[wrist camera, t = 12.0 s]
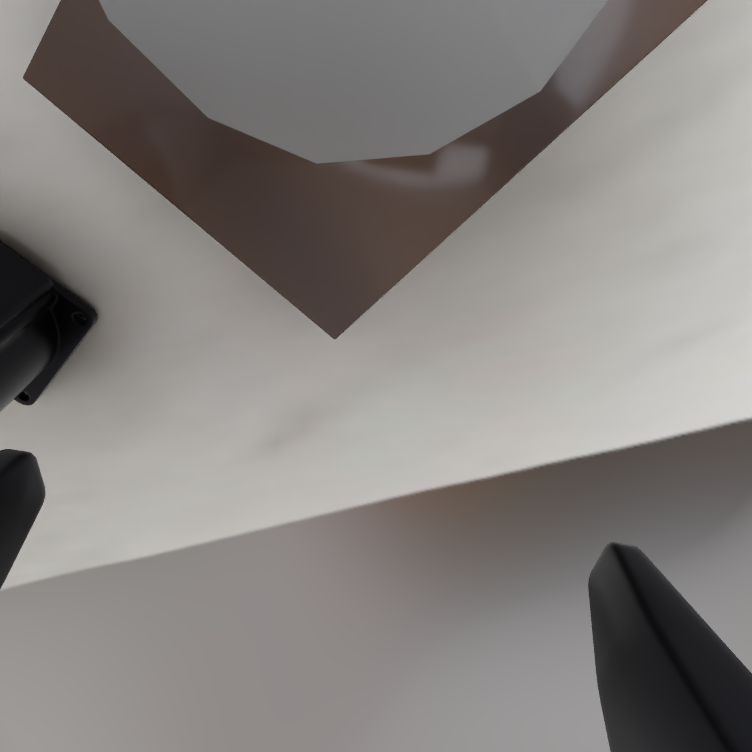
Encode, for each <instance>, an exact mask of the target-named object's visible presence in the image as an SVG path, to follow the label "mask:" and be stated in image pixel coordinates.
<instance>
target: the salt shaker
mask: <svg viewBox="0 0 752 752" xmlns="http://www.w3.org/2000/svg"><path fill="white" fill-rule="evenodd" d="M99 1H100V4H101V6H102V8H103V10H104V12H105V14H106V16H107V18H108V20H109V21H110V22H111V23H112V24H113V25H114V26H115V27H116V28H117V29H118V30H119V31H120V32H121V33H122V34H123V35H124V36H125V37H126V38H127V39H128V40H129V41H130V42H131V43H132V44H133V45H134V46H135V47H136V48H138V49H139V50H140V51H141V52H142V53H143V54H144V55H145V56H146V57H147V58H148V59H149V60H150V61H151V62H152V63H153V64H154V65H155V66H156V67H157V68H158V69H159V70H160V71H161V72H162V73H163V74H164V75H165V76H166V77H167V78H168V79H169V80H170V81H171V82H172V83H173V84H174V85H175V86H176V87H177V88H178V89H179V90H180V91H181V92H182V93H183V94H184V95H185V96H186V97H187V98H188V99H189V100H190V101H191V102H192V103H193V104H195V105H196V106H197V107H198V108H199V109H200V110H201V111H202V112H203V113H204V114H205V115H206V116H207V117H208V118H210V119H212V120H215V121H217V122H219V123H222V124H224V125H226V126H229V127H231V128H233V129H236V130H238V131H241V132H243V133H245V134H248V135H250V136H252V137H255V138H257V139H260V140H262V141H264V142H267V143H269V144H271V145H274V146H276V147H278V148H281V149H283V150H286V151H288V152H290V153H293V154H295V155H297V156H300V157H302V158H304V159H307V160H309V161H312V162H314V163H316V164H319V163H331V162H343V161H355V160H367V159H379V158H391V157H402V156H414V155H426V154H431V153H432V152H434V151H436V150H438V149H439V148H441V147H443V146H445V145H447V144H448V143H450V142H452V141H454V140H455V139H457V138H459V137H461V136H462V135H464V134H466V133H468V132H469V131H471V130H473V129H475V128H477V127H478V126H480V125H482V124H484V123H485V122H487V121H489V120H491V119H492V118H494V117H496V116H498V115H499V114H501V113H503V112H505V111H507V110H508V109H510V108H512V107H514V106H515V105H517V104H519V103H521V102H522V101H524V100H526V99H528V98H529V97H531V96H533V95H535V94H536V93H538V92H540V91H541V90H542V88H543V87H544V86H545V84H546V83H547V82H548V80H549V79H550V78H551V76H552V75H553V74H554V72H555V71H556V70H557V68H558V67H559V66H560V64H561V63H562V61H563V60H564V59H565V57H566V56H567V55H568V53H569V52H570V51H571V49H572V48H573V47H574V45H575V44H576V43H577V41H578V40H579V39H580V37H581V36H582V35H583V33H584V32H585V31H586V29H587V28H588V27H589V25H590V24H591V23H592V21H593V20H594V18H595V17H596V16H597V14H598V13H599V12H600V10H601V9H602V8H603V6H604V5H605V4H606V2H607V1H608V0H99Z"/></svg>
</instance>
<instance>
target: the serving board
mask: <svg viewBox="0 0 752 752" xmlns="http://www.w3.org/2000/svg"><path fill="white" fill-rule="evenodd" d="M706 1H707V0H608V1H607V2H606V4H605V5H604V6H603V8H602V9H601V10H600V12H599V13H598V14H597V16H596V17H595V18H594V20H593V21H592V23H591V24H590V25H589V27H588V28H587V29H586V31H585V32H584V33H583V35H582V36H581V37H580V39H579V40H578V41H577V43H576V44H575V45H574V47H573V48H572V49H571V51H570V52H569V53H568V55H567V56H566V57H565V59H564V60H563V61H562V63H561V64H560V66H559V67H558V68H557V70H556V71H555V72H554V74H553V75H552V76H551V78H550V79H549V80H548V82H547V83H546V84H545V86H544V87H543V88H542V90H541V91H540V92H538V93H536V94H535V95H533V96H531V97H529V98H528V99H526V100H524V101H522V102H521V103H519V104H517V105H515V106H514V107H512V108H510V109H508V110H507V111H505V112H503V113H501V114H499V115H498V116H496V117H494V118H492V119H491V120H489V121H487V122H485V123H484V124H482V125H480V126H478V127H477V128H475V129H473V130H471V131H469V132H468V133H466V134H464V135H462V136H461V137H459V138H457V139H455V140H454V141H452V142H450V143H448V144H447V145H445V146H443V147H441V148H439V149H438V150H436V151H434V152H432V153H431V154H426V155H414V156H402V157H391V158H379V159H367V160H355V161H343V162H331V163H319V164H316V163H314V162H312V161H309V160H307V159H304V158H302V157H300V156H297V155H295V154H293V153H290V152H288V151H286V150H283V149H281V148H278V147H276V146H274V145H271V144H269V143H267V142H264V141H262V140H260V139H257V138H255V137H252V136H250V135H248V134H245V133H243V132H241V131H238V130H236V129H233V128H231V127H229V126H226V125H224V124H222V123H219V122H217V121H215V120H212V119H210V118H208V117H207V116H206V115H205V114H204V113H203V112H202V111H201V110H200V109H199V108H198V107H197V106H196V105H195V104H193V103H192V102H191V101H190V100H189V99H188V98H187V97H186V96H185V95H184V94H183V93H182V92H181V91H180V90H179V89H178V88H177V87H176V86H175V85H174V84H173V83H172V82H171V81H170V80H169V79H168V78H167V77H166V76H165V75H164V74H163V73H162V72H161V71H160V70H159V69H158V68H157V67H156V66H155V65H154V64H153V63H152V62H151V61H150V60H149V59H148V58H147V57H146V56H145V55H144V54H143V53H142V52H141V51H140V50H139V49H138V48H136V47H135V46H134V45H133V44H132V43H131V42H130V41H129V40H128V39H127V38H126V37H125V36H124V35H123V34H122V33H121V32H120V31H119V30H118V29H117V28H116V27H115V26H114V25H113V24H112V23H111V22H110V21H109V20H108V18H107V16H106V14H105V12H104V10H103V8H102V6H101V4H100V1H99V0H61V1H60V3H59V5H58V7H57V9H56V11H55V13H54V15H53V17H52V19H51V21H50V23H49V25H48V27H47V30H46V32H45V34H44V36H43V38H42V40H41V42H40V44H39V46H38V48H37V50H36V52H35V54H34V56H33V58H32V60H31V62H30V64H29V66H28V68H27V70H26V72H25V74H24V76H23V79H24V80H26V81H27V82H28V83H29V84H30V85H32V86H33V87H34V88H35V89H36V90H37V91H39V92H40V93H41V94H42V95H43V96H45V97H46V98H47V99H48V100H49V101H51V102H52V103H53V104H54V105H55V106H57V107H58V108H59V109H60V110H61V111H63V112H64V113H65V114H66V115H67V116H69V117H70V118H71V119H72V120H73V121H74V122H76V123H77V124H78V125H79V126H80V127H82V128H83V129H84V130H85V131H86V132H88V133H89V134H90V135H91V136H92V137H94V138H95V139H96V140H97V141H98V142H100V143H101V144H102V145H103V146H104V147H105V148H107V149H108V150H109V151H110V152H111V153H113V154H114V155H115V156H116V157H117V158H119V159H120V160H121V161H122V162H123V163H125V164H126V165H127V166H128V167H129V168H131V169H132V170H133V171H134V172H135V173H137V174H138V175H139V176H140V177H141V178H142V179H144V180H145V181H146V182H147V183H148V184H150V185H151V186H152V187H153V188H154V189H156V190H157V191H158V192H159V193H160V194H162V195H163V196H164V197H165V198H166V199H168V200H169V201H170V202H171V203H172V204H174V205H175V206H176V207H177V208H178V209H179V210H181V211H182V212H183V213H184V214H185V215H187V216H188V217H189V218H190V219H191V220H193V221H194V222H195V223H196V224H197V225H199V226H200V227H201V228H202V229H203V230H205V231H206V232H207V233H208V234H209V235H211V236H212V237H213V238H214V239H215V240H216V241H218V242H219V243H220V244H221V245H222V246H224V247H225V248H226V249H227V250H228V251H230V252H231V253H232V254H233V255H234V256H236V257H237V258H238V259H239V260H240V261H242V262H243V263H244V264H245V265H246V266H248V267H249V268H250V269H251V270H252V271H253V272H255V273H256V274H257V275H258V276H259V277H261V278H262V279H263V280H264V281H265V282H267V283H268V284H269V285H270V286H271V287H273V288H274V289H275V290H276V291H277V292H279V293H280V294H281V295H282V296H283V297H284V298H286V299H287V300H288V301H289V302H290V303H292V304H293V305H294V306H295V307H296V308H298V309H299V310H300V311H301V312H302V313H304V314H305V315H306V316H307V317H308V318H310V319H311V320H312V321H313V322H314V323H316V324H317V325H318V326H319V327H320V328H321V329H323V330H324V331H325V332H326V333H327V334H329V335H330V336H331V337H332V338H333V339H336V338H337V337H338V336H339V335H341V334H342V333H343V332H344V331H345V330H346V329H347V328H348V327H349V326H350V325H352V324H353V323H354V322H355V321H356V320H357V319H358V318H359V317H360V316H361V315H363V314H364V313H365V312H366V311H367V310H368V309H369V308H370V307H371V306H372V305H374V304H375V303H376V302H377V301H378V300H379V299H380V298H381V297H382V296H383V295H384V294H386V293H387V292H388V291H389V290H390V289H391V288H392V287H393V286H394V285H395V284H397V283H398V282H399V281H400V280H401V279H402V278H403V277H404V276H405V275H406V274H408V273H409V272H410V271H411V270H412V269H413V268H414V267H415V266H416V265H417V264H419V263H420V262H421V261H422V260H423V259H424V258H425V257H426V256H427V255H428V254H429V253H431V252H432V251H433V250H434V249H435V248H436V247H437V246H438V245H439V244H440V243H442V242H443V241H444V240H445V239H446V238H447V237H448V236H449V235H450V234H451V233H453V232H454V231H455V230H456V229H457V228H458V227H459V226H460V225H461V224H462V223H464V222H465V221H466V220H467V219H468V218H469V217H470V216H471V215H472V214H473V213H474V212H476V211H477V210H478V209H479V208H480V207H481V206H482V205H483V204H484V203H485V202H487V201H488V200H489V199H490V198H491V197H492V196H493V195H494V194H495V193H496V192H498V191H499V190H500V189H501V188H502V187H503V186H504V185H505V184H506V183H507V182H509V181H510V180H511V179H512V178H513V177H514V176H515V175H516V174H517V173H518V172H520V171H521V170H522V169H523V168H524V167H525V166H526V165H527V164H528V163H529V162H530V161H532V160H533V159H534V158H535V157H536V156H537V155H538V154H539V153H540V152H541V151H543V150H544V149H545V148H546V147H547V146H548V145H549V144H550V143H551V142H552V141H554V140H555V139H556V138H557V137H558V136H559V135H560V134H561V133H562V132H563V131H565V130H566V129H567V128H568V127H569V126H570V125H571V124H572V123H573V122H574V121H575V120H577V119H578V118H579V117H580V116H581V115H582V114H583V113H584V112H585V111H586V110H588V109H589V108H590V107H591V106H592V105H593V104H594V103H595V102H596V101H597V100H599V99H600V98H601V97H602V96H603V95H604V94H605V93H606V92H607V91H608V90H610V89H611V88H612V87H613V86H614V85H615V84H616V83H617V82H618V81H619V80H620V79H622V78H623V77H624V76H625V75H626V74H627V73H628V72H629V71H630V70H631V69H633V68H634V67H635V66H636V65H637V64H638V63H639V62H640V61H641V60H642V59H644V58H645V57H646V56H647V55H648V54H649V53H650V52H651V51H652V50H653V49H655V48H656V47H657V46H658V45H659V44H660V43H661V42H662V41H663V40H664V39H666V38H667V37H668V36H669V35H670V34H671V33H672V32H673V31H674V30H675V29H676V28H678V27H679V26H680V25H681V24H682V23H683V22H684V21H685V20H686V19H687V18H689V17H690V16H691V15H692V14H693V13H694V12H695V11H696V10H697V9H698V8H700V7H701V6H702V5H703V4H704V3H705V2H706Z"/></svg>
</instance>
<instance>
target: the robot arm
mask: <svg viewBox="0 0 752 752" xmlns="http://www.w3.org/2000/svg"><path fill="white" fill-rule="evenodd" d="M79 313H80V314H82V315H83V316H84V317H85V318H86V320H85V319H83V318H81V317H80V316H79ZM96 321H97V314H96V312H95V310H94V309H93V308H92V307H91V306H89V305H88V304H87V303H85V302H84V301H83V300H81V299H80V298H78V297H77V296H76V295H74V294H73V293H71V292H70V291H69V290H67V289H66V288H65V287H63V286H62V285H60V284H59V283H58V282H56V281H55V280H53V279H52V278H51V277H49V276H48V275H47V274H45V273H44V272H42V271H41V270H40V269H38V268H37V267H36V266H34V265H33V264H31V263H30V262H29V261H27V260H26V259H24V258H23V257H22V256H20V255H19V254H18V253H16V252H15V251H13V250H12V249H11V248H9V247H8V246H6V245H5V244H4V243H2V242H1V241H0V412H1V411H2V410H3V409H4V408H5V407H6V406H7V405H8V404H9V403H10V402H11V401H12V400H13V399H14V400H16V401H17V402H19V403H21V404H23V405H32V404H33V403H34V402H35V401H36V400H37V399H38V398H39V397H40V396H41V395H42V393H43V392H44V391H45V389H46V388H47V387H48V385H49V384H50V383H51V381H52V380H53V379H54V377H55V376H56V375H57V373H58V372H59V371H60V369H61V368H62V367H63V365H64V364H65V363H66V361H67V360H68V359H69V357H70V356H71V355H72V353H73V352H74V351H75V349H76V348H77V347H78V345H79V344H80V343H81V341H82V340H83V339H84V337H85V336H86V335H87V334H88V332H89V331H90V330H91V328H92V327H93V326H94V324H95V323H96ZM27 394H28V395H27ZM44 499H45V486H44V483H43V479H42V476H41V473H40V469H39V466H38V463H37V460H36V457H35V456H34V455H33V454H32V453H30V452H25V451H18V450H12V449H5V450H1V451H0V588H1V587H2V585H3V583H4V581H5V579H6V577H7V575H8V573H9V571H10V569H11V567H12V565H13V563H14V561H15V559H16V557H17V555H18V553H19V551H20V549H21V547H22V545H23V543H24V541H25V539H26V537H27V535H28V533H29V531H30V529H31V527H32V525H33V523H34V521H35V519H36V517H37V515H38V513H39V511H40V509H41V507H42V505H43V502H44ZM588 588H589V599H590V610H591V621H592V632H593V643H594V653H595V665H596V674H597V683H598V690H599V695H600V700H601V706H602V711H603V715H604V721H605V726H606V731H607V735H608V741H609V746H610V751H611V752H752V673H751V672H750V671H749V670H748V669H747V668H746V667H745V666H744V665H743V663H742V662H741V661H740V660H739V659H738V658H737V657H736V656H735V654H734V653H733V652H732V651H731V650H730V649H729V648H728V647H727V646H726V644H725V643H724V642H723V641H722V640H721V639H720V638H719V637H718V635H717V634H716V633H715V632H714V631H713V630H712V629H711V628H710V627H709V625H708V624H707V623H706V622H705V621H704V620H703V619H702V618H701V617H700V615H699V614H698V613H697V612H696V611H695V610H694V609H693V608H692V606H691V605H690V604H689V603H688V602H687V601H686V600H685V599H684V598H683V596H682V595H681V594H680V593H679V592H678V591H677V590H676V589H675V588H674V586H673V585H672V584H671V583H670V582H669V581H668V580H667V579H666V577H665V576H664V575H663V574H662V573H661V572H660V571H659V570H658V569H657V568H656V567H655V565H654V564H653V563H652V562H651V561H650V560H649V558H648V557H647V556H646V555H645V554H644V553H643V552H642V551H641V550H640V549H639V548H638V547H636V546H634V545H629V544H623V543H616V542H611V543H609V544H607V545H606V547H605V548H604V550H603V552H602V553H601V556H600V557H599V559H598V561H597V562H596V564H595V566H594V568H593V570H592V571H591V574H590V577H589V585H588Z"/></svg>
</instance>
